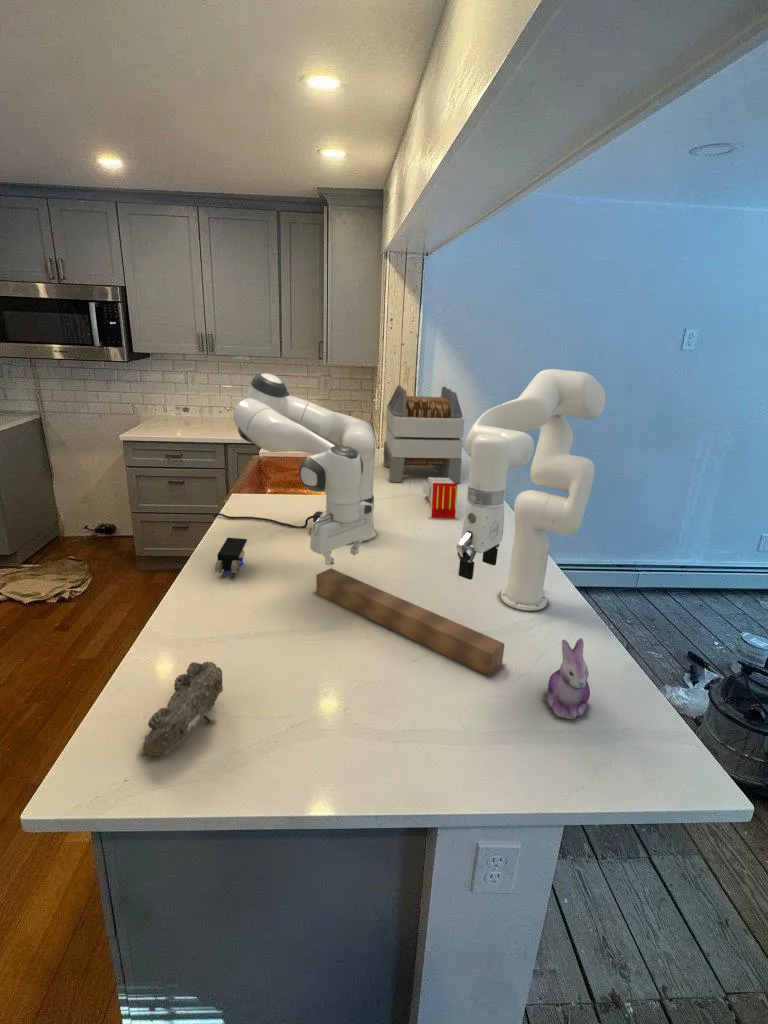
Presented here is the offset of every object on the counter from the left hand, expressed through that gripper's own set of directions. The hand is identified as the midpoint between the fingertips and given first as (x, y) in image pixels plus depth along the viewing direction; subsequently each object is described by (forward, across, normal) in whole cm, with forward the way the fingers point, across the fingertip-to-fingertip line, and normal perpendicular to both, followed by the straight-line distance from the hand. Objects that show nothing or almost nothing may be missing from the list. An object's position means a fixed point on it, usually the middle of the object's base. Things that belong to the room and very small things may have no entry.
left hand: (342, 559), depth 150 cm
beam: (+12, 0, -20) cm, 23 cm away
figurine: (+12, 0, -64) cm, 65 cm away
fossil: (+12, -54, -13) cm, 57 cm away
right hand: (-11, 0, -40) cm, 42 cm away
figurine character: (+12, -10, +35) cm, 38 cm away
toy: (+12, +82, +25) cm, 87 cm away
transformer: (+12, +117, +61) cm, 132 cm away
